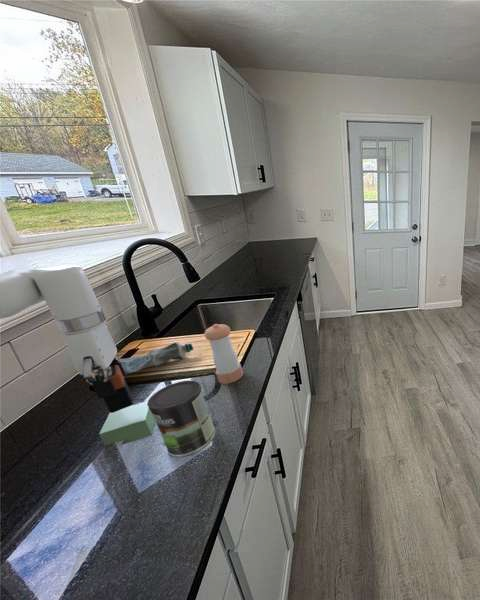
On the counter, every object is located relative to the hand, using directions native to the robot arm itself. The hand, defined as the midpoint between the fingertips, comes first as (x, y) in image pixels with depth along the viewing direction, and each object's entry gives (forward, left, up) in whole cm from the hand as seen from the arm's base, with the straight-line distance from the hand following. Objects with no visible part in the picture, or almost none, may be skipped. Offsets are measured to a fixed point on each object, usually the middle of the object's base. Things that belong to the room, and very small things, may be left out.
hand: (113, 385), depth 76 cm
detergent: (-1, +35, -14) cm, 38 cm away
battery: (0, 0, -6) cm, 6 cm away
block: (0, 0, -14) cm, 14 cm away
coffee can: (+14, -12, -14) cm, 23 cm away
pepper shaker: (+23, +13, -14) cm, 30 cm away
